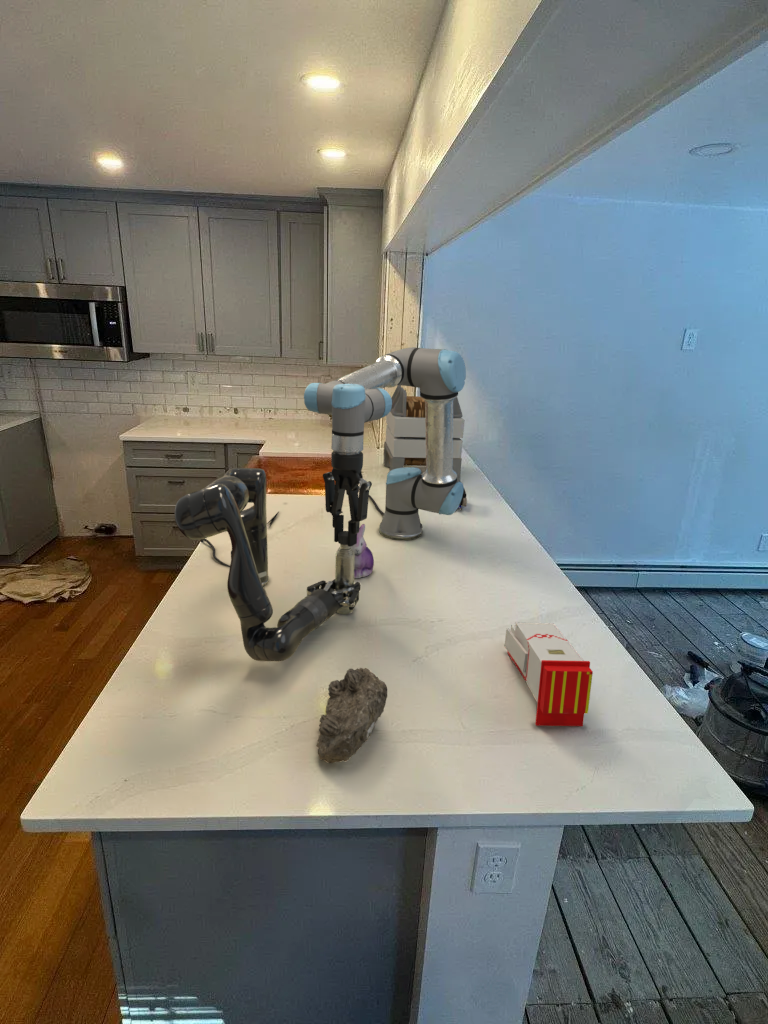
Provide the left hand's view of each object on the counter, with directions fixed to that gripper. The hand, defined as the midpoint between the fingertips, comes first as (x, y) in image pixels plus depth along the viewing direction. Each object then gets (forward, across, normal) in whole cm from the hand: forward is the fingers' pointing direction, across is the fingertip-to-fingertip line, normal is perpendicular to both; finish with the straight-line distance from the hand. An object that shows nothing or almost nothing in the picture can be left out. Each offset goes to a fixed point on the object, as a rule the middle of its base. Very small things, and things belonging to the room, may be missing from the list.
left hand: (349, 582), depth 148 cm
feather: (+45, +57, +7) cm, 73 cm away
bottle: (-3, 0, +7) cm, 7 cm away
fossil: (-40, -24, +7) cm, 47 cm away
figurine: (+19, +7, +7) cm, 21 cm away
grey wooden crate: (+130, +36, +7) cm, 135 cm away
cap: (-3, 0, -14) cm, 15 cm away
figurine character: (+93, +4, +7) cm, 93 cm away
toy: (-8, -52, +7) cm, 53 cm away
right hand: (-3, 0, -12) cm, 13 cm away
